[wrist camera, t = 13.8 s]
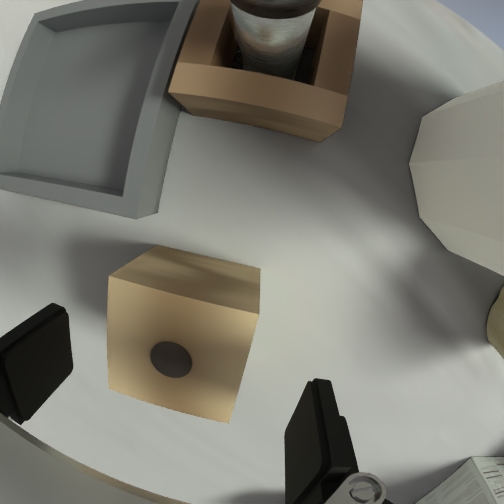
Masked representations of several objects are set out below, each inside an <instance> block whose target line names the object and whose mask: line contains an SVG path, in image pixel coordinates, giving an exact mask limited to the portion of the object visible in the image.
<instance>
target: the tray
mask: <svg viewBox="0 0 504 504" xmlns="http://www.w3.org/2000/svg"><path fill="white" fill-rule="evenodd" d="M199 3H200V0H83V1H79V2H74V3H70V4H66V5H62V6H58V7H55V8H51V9H48V10H44V11H41V12H38V13H35V14H34V16H33V18H32V20H31V22H30V24H29V26H28V29H27V31H26V33H25V35H24V38H23V40H22V42H21V45H20V47H19V50H18V52H17V55H16V57H15V60H14V63H13V66H12V68H11V71H10V74H9V77H8V80H7V83H6V87H5V90H4V93H3V97H2V101H1V104H0V189H2V190H7V191H11V192H16V193H20V194H25V195H29V196H34V197H39V198H43V199H48V200H52V201H57V202H61V203H66V204H70V205H75V206H79V207H84V208H88V209H92V210H97V211H101V212H106V213H110V214H115V215H119V216H123V217H128V218H132V219H139V218H142V217H145V216H149V215H152V214H155V213H158V208H159V202H160V197H161V191H162V186H163V181H164V176H165V172H166V167H167V162H168V158H169V153H170V149H171V145H172V140H173V136H174V132H175V128H176V124H177V120H178V116H179V113H180V109H181V105H182V104H181V103H179V102H178V101H177V100H176V99H175V98H174V97H173V96H172V95H171V94H170V93H169V92H168V91H169V87H170V84H171V81H172V77H173V74H174V71H175V68H176V65H177V62H178V59H179V56H180V53H181V50H182V47H183V44H184V41H185V39H186V36H187V33H188V31H189V28H190V25H191V23H192V20H193V18H194V15H195V13H196V10H197V8H198V5H199Z"/></svg>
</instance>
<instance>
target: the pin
mask: <svg viewBox="0 0 504 504" xmlns="http://www.w3.org/2000/svg"><path fill="white" fill-rule="evenodd" d="M230 1H231V6H232V11H233V16H234V22H235V27H236V33H237V38H238V44H239V49H240V55H241V61H242V66H243V70H245V71H250V72H256V73H261V74H266V75H271V76H275V77H280V78H284V79H289V80H294V77H295V74H296V71H297V68H298V64H299V61H300V58H301V55H302V51H303V48H304V45H305V42H306V39H307V35H308V32H309V29H310V26H311V23H312V19H313V16H314V13H315V10H316V7H317V6H318V5H319V4H320V3H321V1H322V0H230Z"/></svg>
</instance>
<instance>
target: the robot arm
mask: <svg viewBox="0 0 504 504" xmlns="http://www.w3.org/2000/svg"><path fill="white" fill-rule="evenodd" d="M72 370H73V359H72V350H71V341H70V329H69V316H68V313H67V312H66V309H65V308H64V307H62V306H60V305H57V304H55V303H51V304H49V305H48V306H46V307H45V308H43V309H42V310H40V311H39V312H37V313H36V314H34V315H33V316H31V317H30V318H28V319H27V320H25V321H24V322H22V323H21V324H19V325H18V326H16V327H15V328H14V329H12V330H11V331H9V332H8V333H6V334H5V335H4V336H2V337H1V338H0V504H190V503H186V502H182V501H178V500H175V499H171V498H168V497H164V496H161V495H158V494H155V493H152V492H149V491H146V490H143V489H140V488H137V487H135V486H132V485H129V484H127V483H124V482H122V481H119V480H117V479H114V478H112V477H110V476H107V475H105V474H103V473H100V472H98V471H96V470H94V469H92V468H90V467H88V466H86V465H84V464H82V463H80V462H78V461H76V460H74V459H72V458H70V457H68V456H66V455H64V454H63V453H61V452H59V451H57V450H56V449H54V448H52V447H50V446H49V445H47V444H45V443H44V442H42V441H40V440H39V439H37V438H36V437H34V436H32V435H31V434H29V433H28V432H26V431H25V430H23V429H22V428H21V427H19V426H18V425H16V424H15V423H13V422H12V421H11V420H10V417H11V419H13V420H14V421H15V422H17V423H18V424H20V425H21V424H22V423H23V422H24V421H28V420H29V419H30V418H31V417H32V416H33V415H34V413H35V412H36V411H37V410H38V409H39V408H40V407H41V405H42V404H43V403H44V402H45V401H46V400H47V399H48V398H49V397H50V395H51V394H52V393H53V392H54V391H55V390H56V389H57V388H58V387H59V386H60V384H61V383H62V382H63V381H64V380H65V379H66V378H67V377H68V376H69V375H70V374H71V372H72ZM284 440H285V497H286V504H393V503H391V502H390V501H388V500H386V499H385V496H386V488H385V485H384V483H383V482H382V481H381V480H380V479H379V478H378V477H376V476H375V475H372V474H370V473H364V472H360V473H359V470H358V465H357V461H356V457H355V453H354V449H353V445H352V441H351V437H350V433H349V429H348V425H347V422H346V419H345V417H344V416H340V415H339V411H338V407H337V403H336V399H335V396H334V392H333V388H332V384H331V381H330V380H324V379H318V378H315V379H314V380H313V381H312V382H311V381H308V382H307V384H306V387H305V389H304V391H303V393H302V396H301V398H300V400H299V402H298V405H297V407H296V409H295V411H294V413H293V415H292V417H291V419H290V422H289V424H288V426H287V428H286V431H285V436H284Z"/></svg>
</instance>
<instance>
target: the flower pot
mask: <svg viewBox="0 0 504 504" xmlns="http://www.w3.org/2000/svg"><path fill="white" fill-rule="evenodd" d="M487 337H488V340H489V342H490V343H491V345H492V346H493V347H494V348H495V349H496V350H497V351H498V352H499V354H500V355H501V356H502V357H503V358H504V286H503V287H502V288H501V290H500V294H499V297H498V299H497V300H496V302H495V303H494V304H493V305H492V307H491V309H490V312H489V316H488V320H487Z"/></svg>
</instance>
